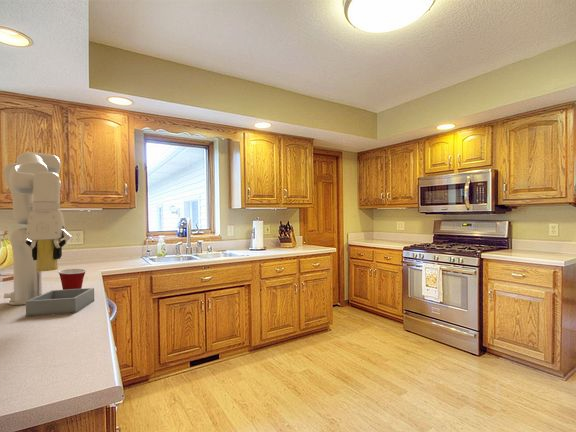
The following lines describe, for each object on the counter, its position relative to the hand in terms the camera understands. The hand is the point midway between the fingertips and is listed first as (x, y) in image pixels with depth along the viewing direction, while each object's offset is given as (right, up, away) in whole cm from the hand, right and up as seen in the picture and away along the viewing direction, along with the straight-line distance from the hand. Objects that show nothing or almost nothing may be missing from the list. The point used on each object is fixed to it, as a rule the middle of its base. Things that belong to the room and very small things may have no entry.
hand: (47, 258), depth 110 cm
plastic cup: (-14, -22, +34) cm, 43 cm away
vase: (0, -4, 0) cm, 4 cm away
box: (-5, -21, +14) cm, 26 cm away
